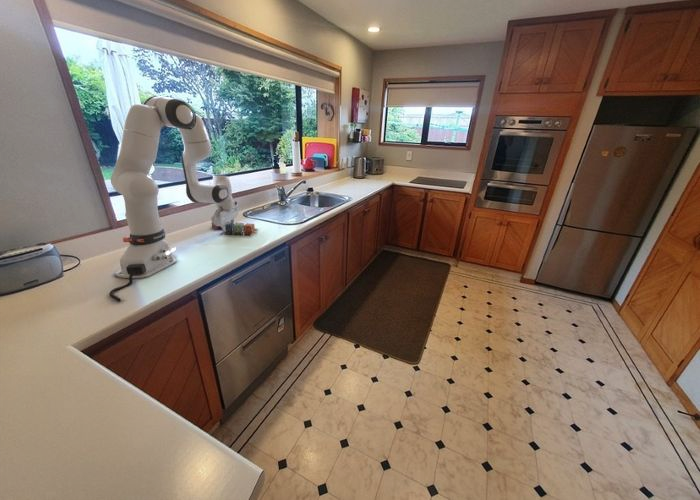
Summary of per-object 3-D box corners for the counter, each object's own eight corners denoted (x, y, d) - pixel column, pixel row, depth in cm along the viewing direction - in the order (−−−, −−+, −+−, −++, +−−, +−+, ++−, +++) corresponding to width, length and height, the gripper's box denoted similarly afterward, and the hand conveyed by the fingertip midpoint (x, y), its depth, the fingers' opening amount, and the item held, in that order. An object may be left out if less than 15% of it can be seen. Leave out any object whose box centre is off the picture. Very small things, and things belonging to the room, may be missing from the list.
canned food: (230, 232, 171) (236, 219, 167) (221, 236, 161) (227, 222, 158) (214, 222, 170) (220, 209, 167) (204, 226, 161) (210, 211, 157)
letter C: (252, 233, 156) (251, 226, 154) (244, 233, 156) (243, 225, 154) (255, 231, 160) (254, 223, 158) (247, 230, 160) (246, 223, 158)
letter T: (231, 232, 157) (230, 225, 155) (223, 232, 157) (222, 224, 155) (234, 229, 161) (233, 222, 159) (227, 229, 161) (226, 222, 159)
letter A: (241, 233, 156) (240, 225, 155) (233, 232, 157) (232, 225, 155) (244, 230, 160) (243, 223, 159) (237, 230, 161) (236, 222, 159)
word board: (249, 237, 153) (249, 236, 152) (219, 235, 154) (219, 234, 154) (258, 229, 164) (257, 228, 163) (229, 228, 165) (229, 227, 164)
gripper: (221, 210, 143) (225, 235, 149) (238, 200, 162) (241, 223, 167) (209, 209, 143) (213, 234, 149) (228, 200, 162) (231, 222, 168)
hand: (228, 228), depth 158 cm, fingers open, 7 cm apart
